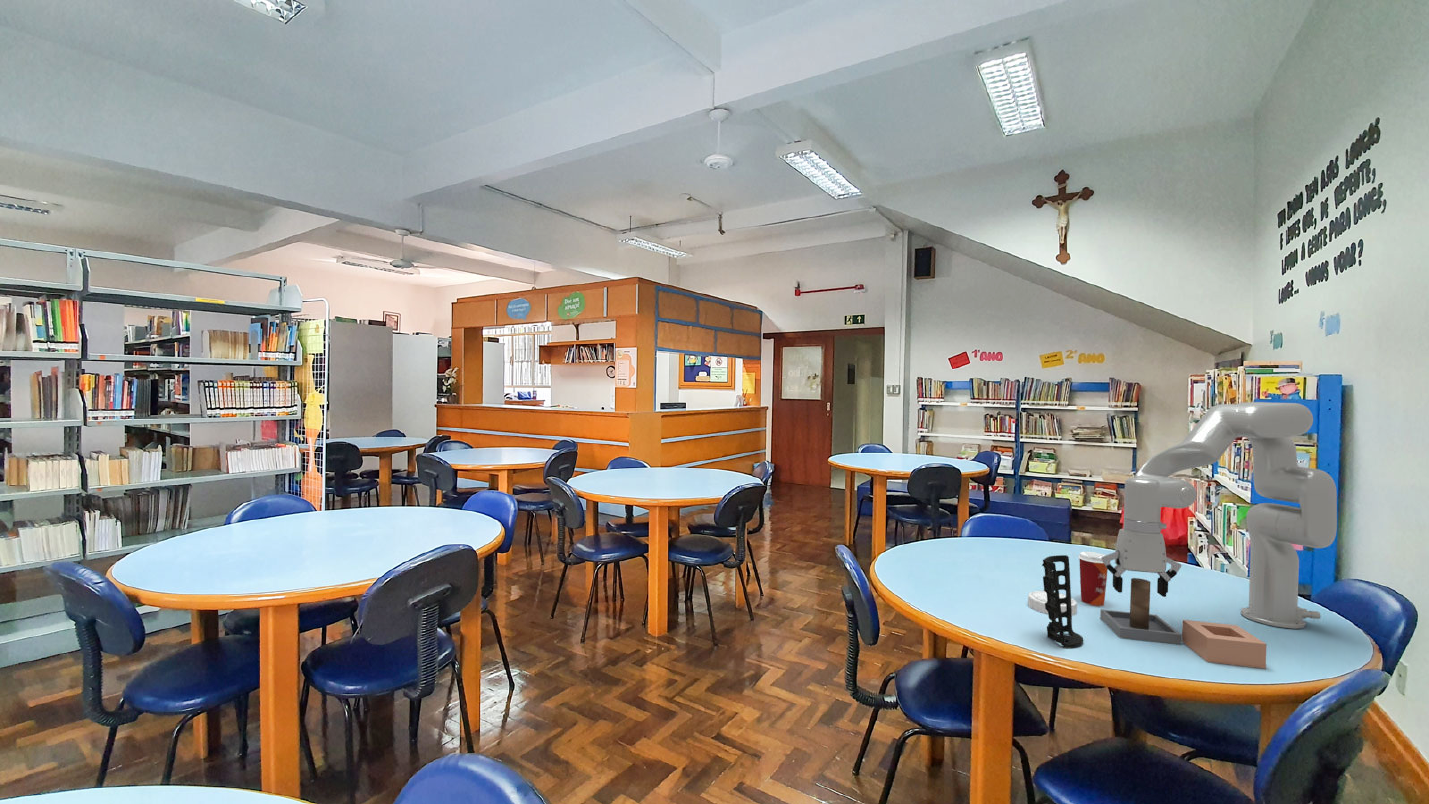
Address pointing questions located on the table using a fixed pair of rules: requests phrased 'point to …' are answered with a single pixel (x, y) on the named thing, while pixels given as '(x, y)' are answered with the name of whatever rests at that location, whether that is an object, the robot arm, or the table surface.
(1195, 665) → the table surface
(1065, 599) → the holder
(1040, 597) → the mooncake
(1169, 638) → the tray
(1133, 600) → the dowel pin
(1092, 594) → the paper cup
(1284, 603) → the robot arm
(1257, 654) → the well block
